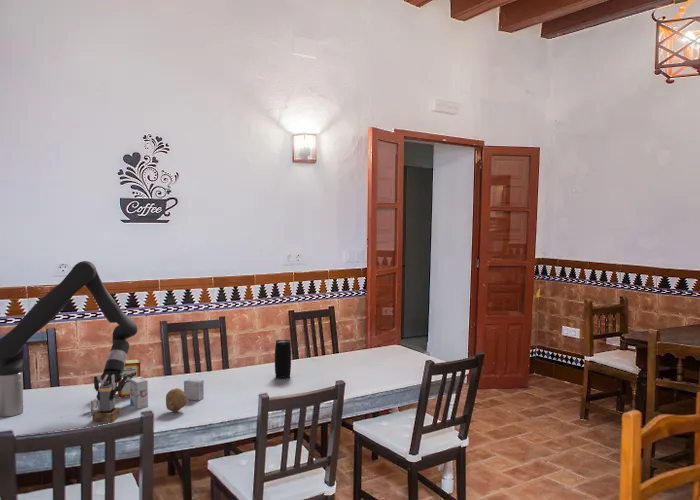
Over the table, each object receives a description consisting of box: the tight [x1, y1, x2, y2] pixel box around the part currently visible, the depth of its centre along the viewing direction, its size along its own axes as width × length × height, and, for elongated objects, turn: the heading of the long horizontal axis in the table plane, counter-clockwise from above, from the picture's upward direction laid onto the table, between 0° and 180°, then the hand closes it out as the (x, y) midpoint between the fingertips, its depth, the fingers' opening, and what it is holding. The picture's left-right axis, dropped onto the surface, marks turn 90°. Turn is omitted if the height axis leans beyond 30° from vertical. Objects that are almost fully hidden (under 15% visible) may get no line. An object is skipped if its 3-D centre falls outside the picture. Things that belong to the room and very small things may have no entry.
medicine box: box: [183, 378, 205, 401], centre depth 253 cm, size 8×4×9 cm, turn 74°
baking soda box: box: [117, 359, 141, 398], centre depth 259 cm, size 10×6×16 cm
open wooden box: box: [92, 407, 121, 424], centre depth 225 cm, size 8×8×4 cm
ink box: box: [129, 376, 149, 409], centre depth 243 cm, size 9×5×12 cm, turn 45°
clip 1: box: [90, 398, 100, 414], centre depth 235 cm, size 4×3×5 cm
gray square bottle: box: [99, 381, 115, 411], centre depth 225 cm, size 4×4×12 cm
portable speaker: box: [274, 339, 292, 379], centre depth 292 cm, size 9×9×20 cm
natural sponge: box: [165, 387, 189, 413], centre depth 235 cm, size 9×9×10 cm
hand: (104, 399), depth 223 cm, fingers closed on gray square bottle, 4 cm apart
